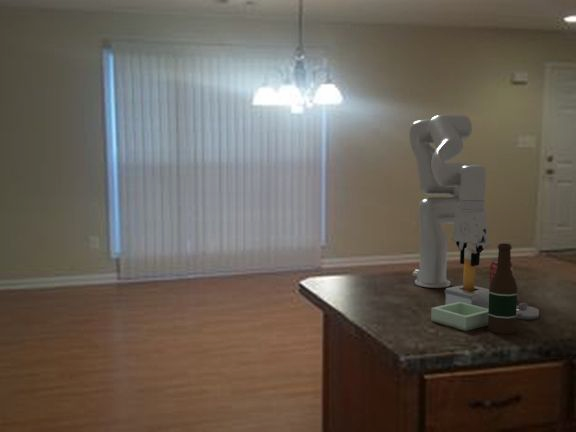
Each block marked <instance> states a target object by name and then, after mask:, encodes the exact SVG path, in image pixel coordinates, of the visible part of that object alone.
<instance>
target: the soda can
mask: <svg viewBox="0 0 576 432" xmlns="http://www.w3.org/2000/svg"><path fill="white" fill-rule="evenodd" d="M497 263H498V259H493V260H491V263H490V266H489V283H490V282H491V279H492V277H493V276H494V274H495V273H496V270H497ZM512 263H513V262H512V261H511V274H512V275H513V276H514V265H513V264H512Z"/></svg>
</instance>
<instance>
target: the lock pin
mask: <svg viewBox="0 0 576 432" xmlns="http://www.w3.org/2000/svg"><path fill="white" fill-rule="evenodd" d="M472 253H473V247H468V248H465V249H464V264H463V277H462V278H463V279H462V283H463V284H462V285H463V290H466V291H474V286H475V283H476V282H475V280H476V277H475V276H476V266H471V254H472Z"/></svg>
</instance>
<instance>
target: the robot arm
mask: <svg viewBox="0 0 576 432" xmlns="http://www.w3.org/2000/svg"><path fill="white" fill-rule="evenodd" d="M472 132H473V124H472V121H471V119H470V118H469V117H468V116H466V115H465V114H438V115H434V116H433V117H432V118H430V119H419V120H416V121H414V122H412V123H411V125H410V127H409V132H408V133H409V137H408V138H409V143H410V144H409V145H410V147H411V151H412V153H413V154H414V157H415V160H416V167H417V168H416V169H417V176H418V177H417V178H418V184H419V185H418V186H419V189H420V192H421V193H422V194H424V195H428V196H430V197H426V198H423V199H421V200H420V202H419V203H418V206H417V211H418V212H417V214H418V218H419V219H418V221H419V234H420V235H419V269H415V270H414V271H413V272H412V276H416V279H415V280H414V284H415V285H416V286H418V287H422V288H431V289H442V288H449V287H451V281H450V280H448V279H447V263H448V261H447V260H448V259H447V258H448V236H447V233H446V231H445V230H444V228H443V227H442V226H441V225H451V224H453V228H452V229H453V230H452V238H451V240H452V242H453V243H454V244H456V246H457V247H458V251H459V252H460V253H459V259H460V260H459V263H460V265H464V249H465V248H469V247H468V245H469V244H471V245H472V248H473V253H472V254H471V266H475V267H477V266H479V265H480V260H481V259H480V258H481V254H480V253H483V251H484V250H485V249H487V248H488V247H490V245H491V244H490V241H489V239H488V236H489V234H488V231H489V229H488V217H487V211H486V210H485V208H486V207H485V204H486V182H487V179H486V178H487V169H486V167H485V166H484V165H481V164H477V163H471V162H470V163H469V162H449V163H448V162H447V161H448V160H451V159H453V158H456V157H457V156H458V155H459V154H460V153H461V152H462V150H463V148H464V142H463V141H465V140H467V139H469V138H470V137H471V134H472ZM431 144H434V145H435V148H436V149H435V148H434V147H433V146H432V145H431ZM445 162H446V163H445ZM433 196H434V197H433ZM439 196H440V197H439ZM443 196H445V197H443ZM446 196H448V197H446Z"/></svg>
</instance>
